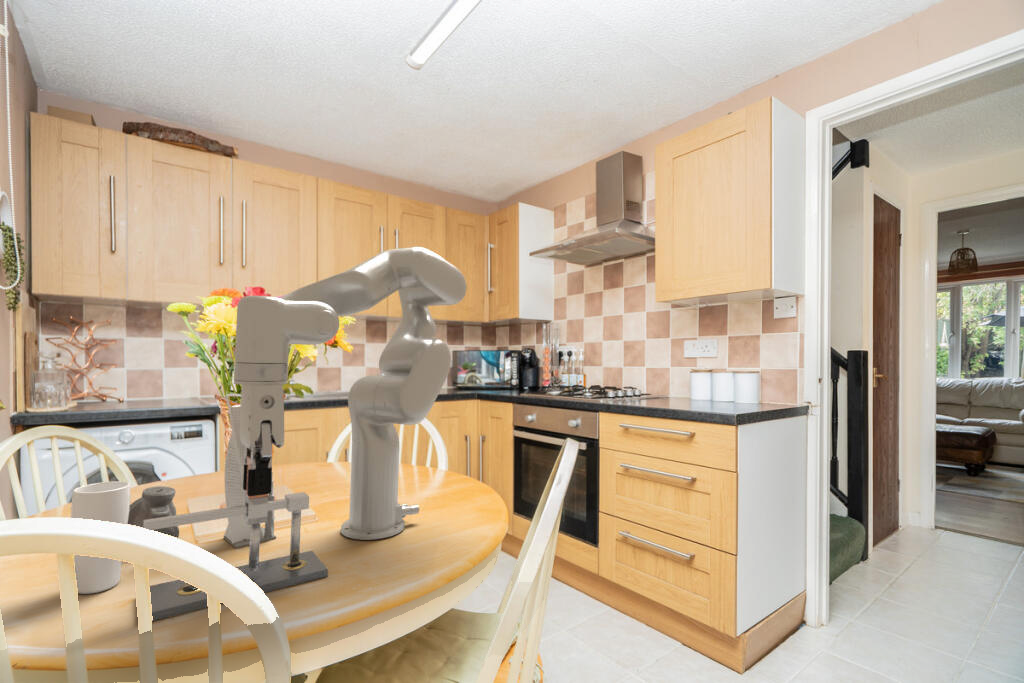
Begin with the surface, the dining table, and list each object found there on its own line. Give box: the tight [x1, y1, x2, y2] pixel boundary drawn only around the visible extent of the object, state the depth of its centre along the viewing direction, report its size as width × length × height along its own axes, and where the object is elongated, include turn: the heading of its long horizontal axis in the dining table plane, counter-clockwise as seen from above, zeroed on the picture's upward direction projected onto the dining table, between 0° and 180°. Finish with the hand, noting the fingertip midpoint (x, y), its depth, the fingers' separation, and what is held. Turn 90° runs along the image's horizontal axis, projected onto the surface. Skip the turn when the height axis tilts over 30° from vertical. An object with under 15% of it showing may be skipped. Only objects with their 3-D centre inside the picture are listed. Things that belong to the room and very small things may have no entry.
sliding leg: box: [244, 455, 269, 571], centre depth 75 cm, size 3×4×18 cm
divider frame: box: [143, 491, 310, 565], centre depth 73 cm, size 22×3×11 cm, turn 128°
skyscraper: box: [223, 393, 277, 549], centre depth 92 cm, size 8×8×28 cm
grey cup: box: [70, 480, 131, 595], centre depth 72 cm, size 7×7×15 cm
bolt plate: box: [149, 550, 329, 622], centre depth 73 cm, size 24×9×1 cm, turn 128°
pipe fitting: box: [128, 485, 180, 539], centre depth 88 cm, size 12×8×10 cm
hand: (256, 490), depth 75 cm, fingers closed on sliding leg, 3 cm apart
